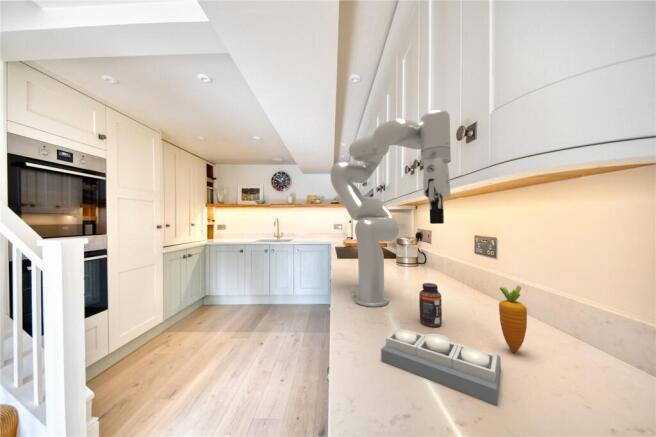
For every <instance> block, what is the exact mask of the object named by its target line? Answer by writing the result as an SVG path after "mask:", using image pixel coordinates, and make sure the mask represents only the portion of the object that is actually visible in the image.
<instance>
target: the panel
mask: <svg viewBox="0 0 656 437" xmlns="http://www.w3.org/2000/svg"><path fill="white" fill-rule="evenodd" d="M400 329H401V328H399V327H396V328H395V329H394V331H392V332H391V333H390V334H389V335H387V337H386V338H385V345H383V347H382V348H381V350H380V351H381V353H380V358H381V362H384V363H386V364H389V365H391V366H393V367H396V368H399V369H401V370H404V371H407V372H409V373H412V374H414V375H417V376H419V377H422V378H425V379H428V380H430V381H433V382H435V383H437V384H440V385H443V386H446V387H447V388H451V389H454V390H455V391H458V392H461V393H463V394H466V395H469V396H472V397H473V398H477V399H478V400H482V401H484V402H487V403H490V404H492V405H495V406H498V399H499V390H500V380H501V379H500V378H501V372H502V371H501V368H502V367H501V355H498V354H494V353H492V352H488V351H485V350H483V351H484V352H485V353H487V354H488V356H489V369H488V368H485V367H482V366H478V365H475V364H472V363H469V362H466V361H462V360H461V350H462V349H463V348H466V347H468V346H466V345H462V344H459V343H456V342H452V341H449V345H450V352H449V353H448V354H445V355H443V354H440V353H437V352H433V351H430V350H427V349H426V335H427V334H423V333H419V332H416V331H413V332H414V333H416V340H417V342H416V343H415V344H414V345H411V344H408V343H405V342H401V341H398V340H396V338H395V332H396V331H397V330H400Z"/></svg>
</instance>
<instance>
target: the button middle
mask: <svg viewBox="0 0 656 437" xmlns="http://www.w3.org/2000/svg"><path fill="white" fill-rule="evenodd" d="M425 335H426V349H427V350H430V351H433V352H437V353H440V354H443V355H445V354H448V353H449V352H450V345H449V342H450V339H449V338H448V337H447V336H446V335H442V334H439V333H428V334H425Z"/></svg>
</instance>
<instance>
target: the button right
mask: <svg viewBox="0 0 656 437" xmlns="http://www.w3.org/2000/svg"><path fill="white" fill-rule="evenodd" d="M484 351H485V350H482V349H479V348H475V347H470V346H467V347H466V348H463V349H462V350H461V360H462V361H466V362H469V363H472V364H475V365H478V366H482V367H485V368H488V369H489V356H488V354H487V353H485V352H486V351H485V352H484Z"/></svg>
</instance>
